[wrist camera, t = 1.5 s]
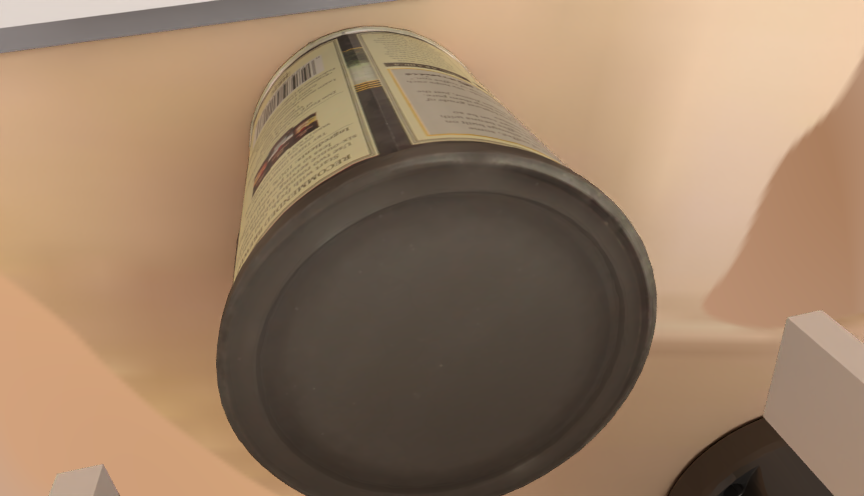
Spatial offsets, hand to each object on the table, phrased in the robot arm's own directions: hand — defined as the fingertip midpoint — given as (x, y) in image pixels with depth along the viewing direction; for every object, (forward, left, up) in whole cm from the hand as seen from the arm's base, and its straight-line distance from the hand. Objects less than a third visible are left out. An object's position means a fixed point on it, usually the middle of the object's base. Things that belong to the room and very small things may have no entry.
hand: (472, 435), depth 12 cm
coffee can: (0, 0, -17) cm, 17 cm away
